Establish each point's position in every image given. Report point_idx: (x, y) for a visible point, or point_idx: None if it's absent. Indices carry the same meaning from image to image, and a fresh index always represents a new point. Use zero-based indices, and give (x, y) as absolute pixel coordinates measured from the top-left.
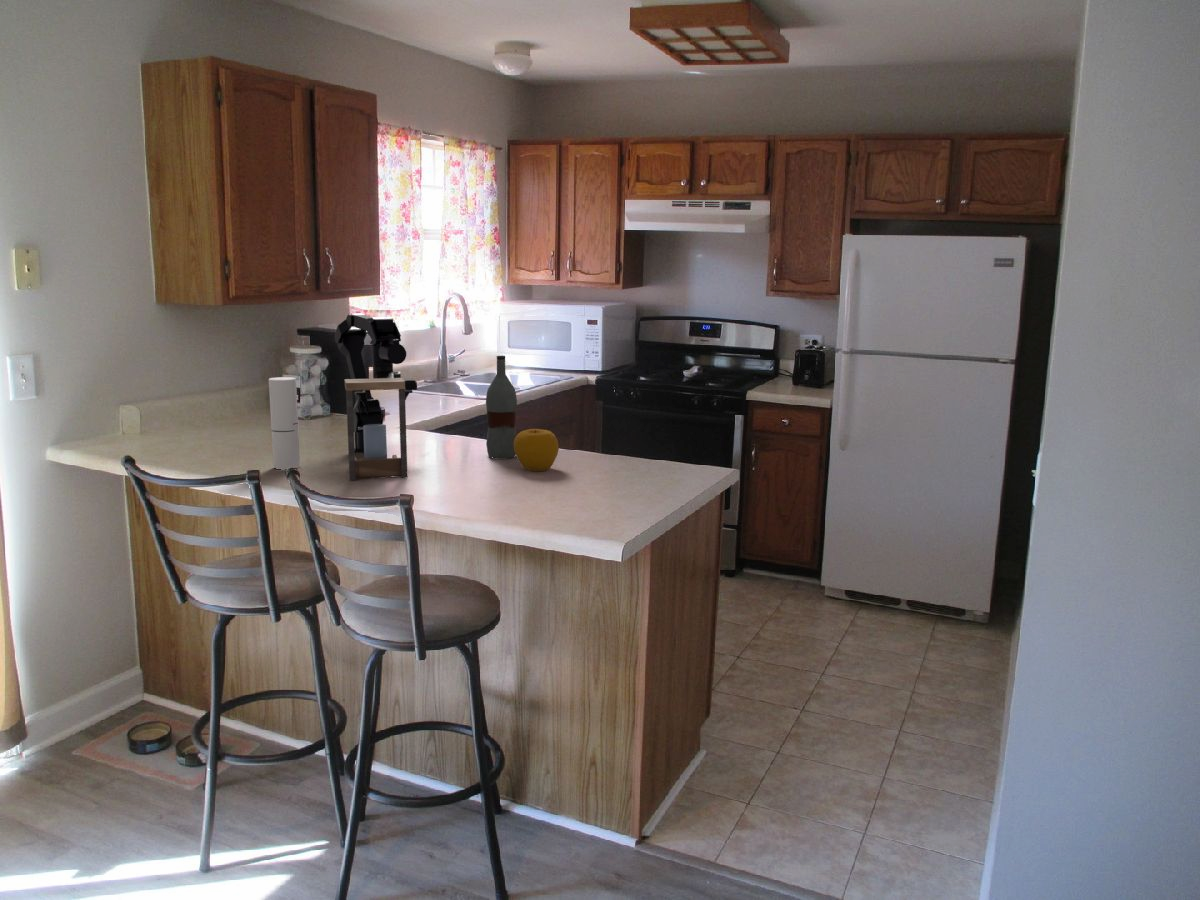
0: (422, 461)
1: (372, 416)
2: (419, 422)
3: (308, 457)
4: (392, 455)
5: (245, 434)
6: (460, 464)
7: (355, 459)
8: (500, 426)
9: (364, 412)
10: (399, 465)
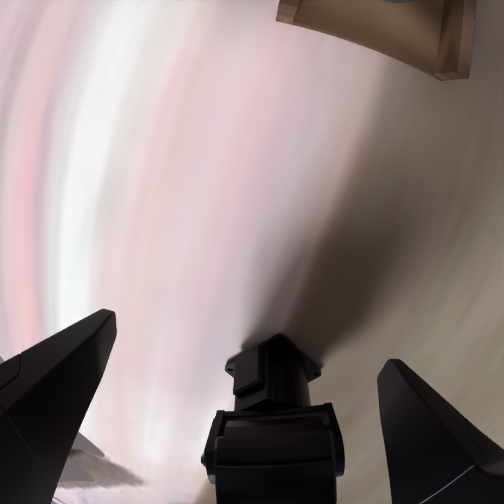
0: (135, 87)
1: (268, 447)
2: (111, 485)
3: (453, 332)
4: (298, 2)
5: (390, 492)
6: (47, 7)
7: (466, 23)
8: None
9: (316, 463)
10: None
